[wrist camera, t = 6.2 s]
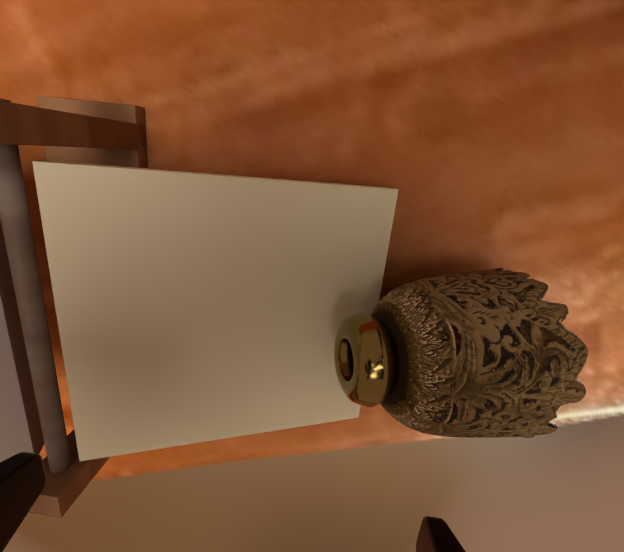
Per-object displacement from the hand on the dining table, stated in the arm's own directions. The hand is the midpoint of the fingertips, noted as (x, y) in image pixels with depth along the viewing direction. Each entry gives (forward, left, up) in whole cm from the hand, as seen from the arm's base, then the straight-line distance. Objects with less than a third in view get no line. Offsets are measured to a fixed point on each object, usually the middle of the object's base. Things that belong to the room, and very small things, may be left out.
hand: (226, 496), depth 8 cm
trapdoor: (+7, 0, -10) cm, 12 cm away
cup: (-2, 0, -6) cm, 7 cm away
